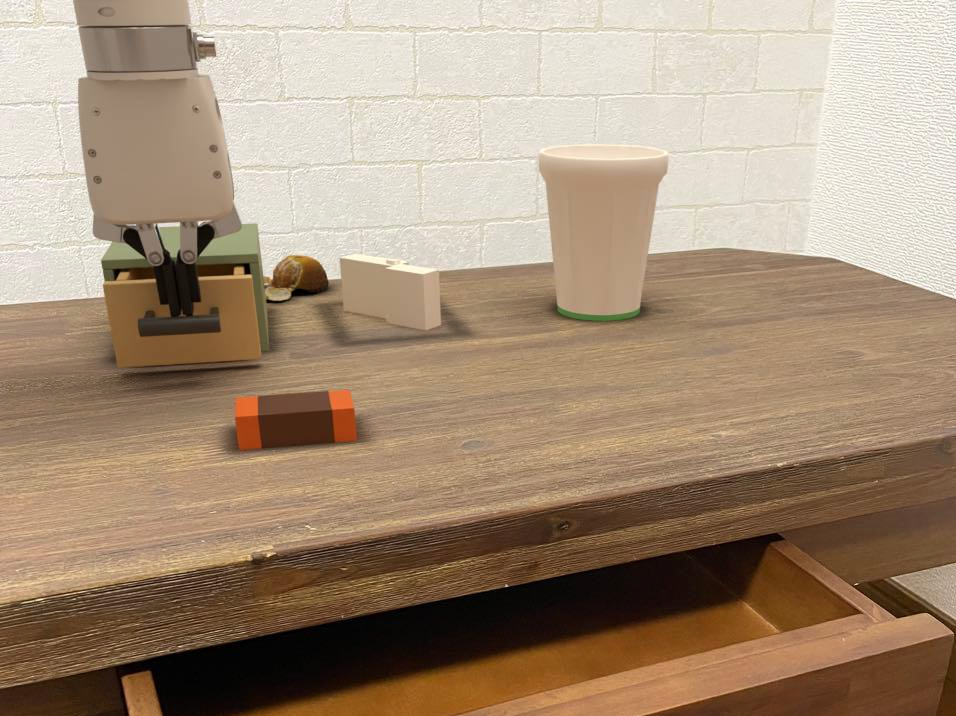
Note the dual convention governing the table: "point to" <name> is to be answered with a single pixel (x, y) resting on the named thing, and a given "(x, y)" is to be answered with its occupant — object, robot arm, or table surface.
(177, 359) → the drawer
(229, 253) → the cabinet
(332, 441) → the chocolate bar
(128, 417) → the table surface
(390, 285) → the napkin holder
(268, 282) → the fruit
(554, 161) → the cup
